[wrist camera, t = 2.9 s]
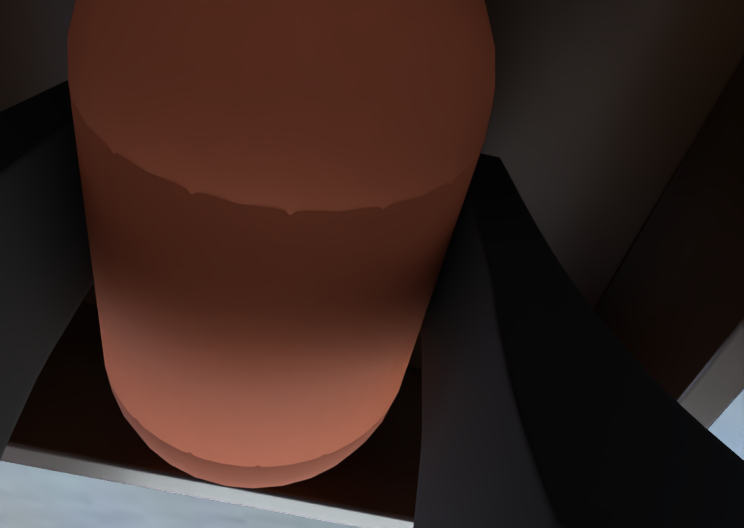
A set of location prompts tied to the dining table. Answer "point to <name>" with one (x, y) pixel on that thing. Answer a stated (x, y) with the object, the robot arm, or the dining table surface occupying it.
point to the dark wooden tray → (546, 205)
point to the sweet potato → (270, 212)
